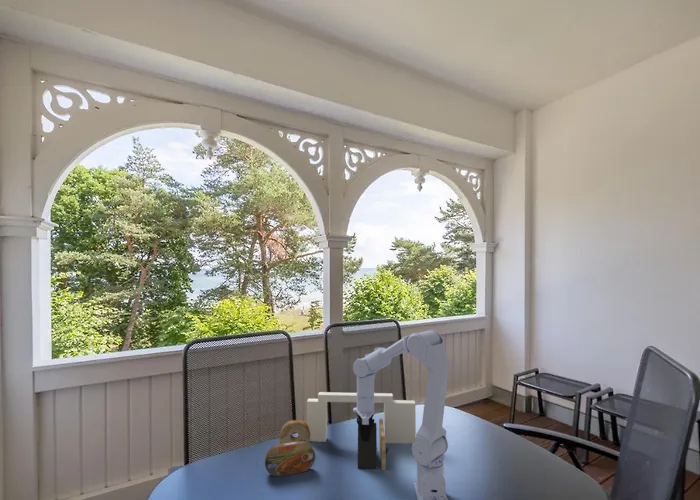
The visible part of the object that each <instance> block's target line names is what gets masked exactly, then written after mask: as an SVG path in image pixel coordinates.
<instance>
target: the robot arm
mask: <svg viewBox="0 0 700 500" xmlns="http://www.w3.org/2000/svg"><path fill="white" fill-rule="evenodd" d="M445 345H446V339H444V338H443V336H442V335H441V334H440V333H439V331H437V330H435V329H428V330H425V331H421V332H415V333H414V332H413V333H411V334H409V335H406V336H404V337H402V338H401V339H399V340H398V341H395V342H394V343H393V344H392V345H390V346H389V347H387V348H385V347H380V346H378V347H375V348H374V351H372V352H370V353H366V354H365V355H364V357H363V358H357V359H356V360H355V361H354V362H353V364H352V370H353V373H354V375H355V376H356V393H357V402H356V407H353V409H352V412H353V413H356V416H357V417H356V424H357V426H358V425H359V428H360V433H361V438H362V441H369V438H370V432H371V428H372V426H373V424H374V423H375V418H373V417H374V415H375V412H376V409H375V403H374V393H375V379H376V374H377V373H378V372H379V371H380V370H382V369H384V368H385V367H387V366H389V365H391V363H392V359H393V358H395V357H397V356H400V355H401V354H404V353H405V352H406V353H408V354H409V353H410V354H411V355H412V356H413V357H414V358H416V359H417V360H418V361H419V362H421V363H422V364H423V365H424V366H425V368H427V378H426V388H425V396H424V404H423V410H422V411H423V413H422V423H421V426H420V427H419V429H418V431H416V439H415V441H414V442H413V444H411V453H412V457H413V458H414V460H415V462H416V482H414V483H413V487H414V490H415V491H414V492H415V495H416V498H417V500H449V499H448V496H447V493H446V479H445V475H444V473H445V472H444V471H445V470H444V469H445V466H444V465H445V463H444V458H445V453H446V452H447V451H448V449H449V442H448V440H447V430H446V429H445V428H444V427H443V423H444V422H443V421H444V414H445V413H444V412H445V406H446V398H447V397H446V395H447V389H448V379H449V370H450V363H449V359H448V355H447V352H446V348H445Z"/></svg>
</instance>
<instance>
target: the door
mask: <svg viewBox="0 0 700 500" xmlns="http://www.w3.org/2000/svg"><path fill="white" fill-rule="evenodd" d="M383 419H384V418H383V417H379V420H378V425H379V426H378V427H379V428H378V431H379V432H378V434H379V435H378V436H379V437H378V439H379V440H378V441H379V453H380V454H379V455H380V462H381V463H380V465H381V471H385V470H386V469H387V467H386V465H387V463H386V460H387V459H386V454H390V447H387V446H386V445H387V443H386V442H385V434H384V420H383Z"/></svg>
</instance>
